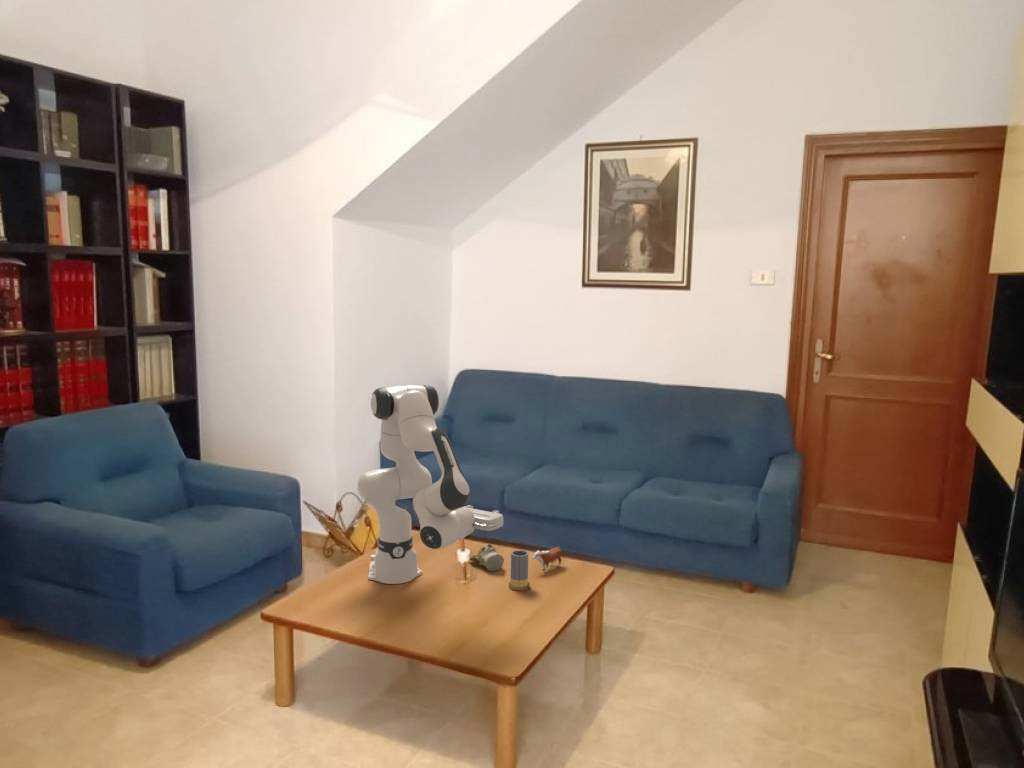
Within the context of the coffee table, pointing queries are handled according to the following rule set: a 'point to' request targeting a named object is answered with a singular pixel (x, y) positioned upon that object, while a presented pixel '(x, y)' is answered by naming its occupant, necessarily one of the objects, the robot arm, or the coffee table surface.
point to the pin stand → (518, 587)
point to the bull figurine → (548, 557)
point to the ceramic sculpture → (488, 558)
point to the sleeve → (519, 568)
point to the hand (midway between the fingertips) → (484, 510)
